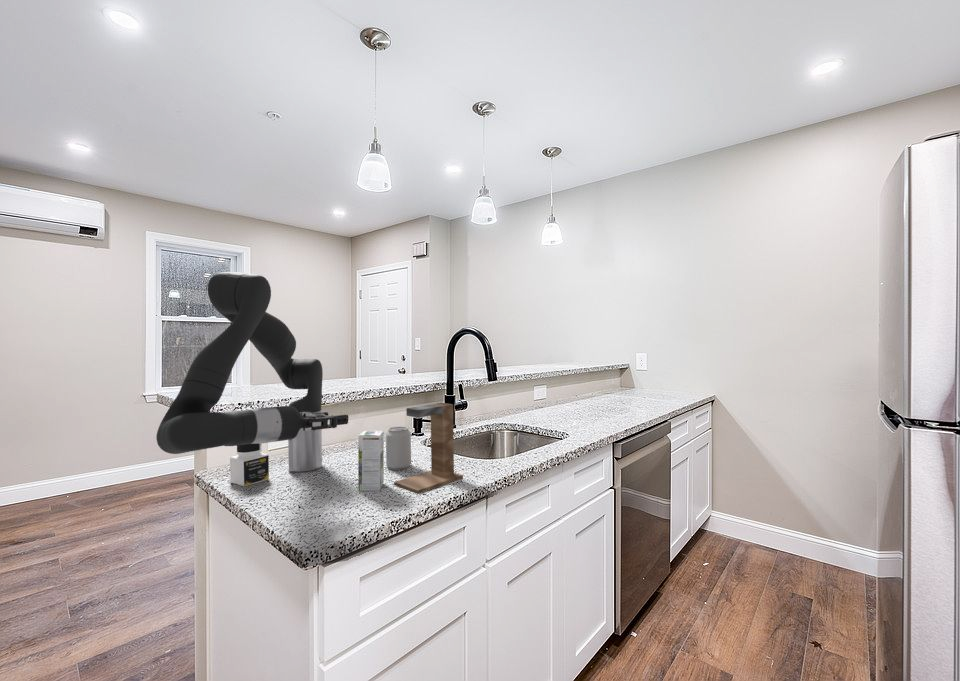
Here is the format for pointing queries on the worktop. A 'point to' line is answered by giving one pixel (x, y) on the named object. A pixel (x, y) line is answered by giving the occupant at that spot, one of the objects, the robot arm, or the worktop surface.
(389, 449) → the can
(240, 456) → the medicine bottle
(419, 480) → the keeper bracket
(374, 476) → the syrup box
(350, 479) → the worktop surface
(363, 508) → the worktop surface
